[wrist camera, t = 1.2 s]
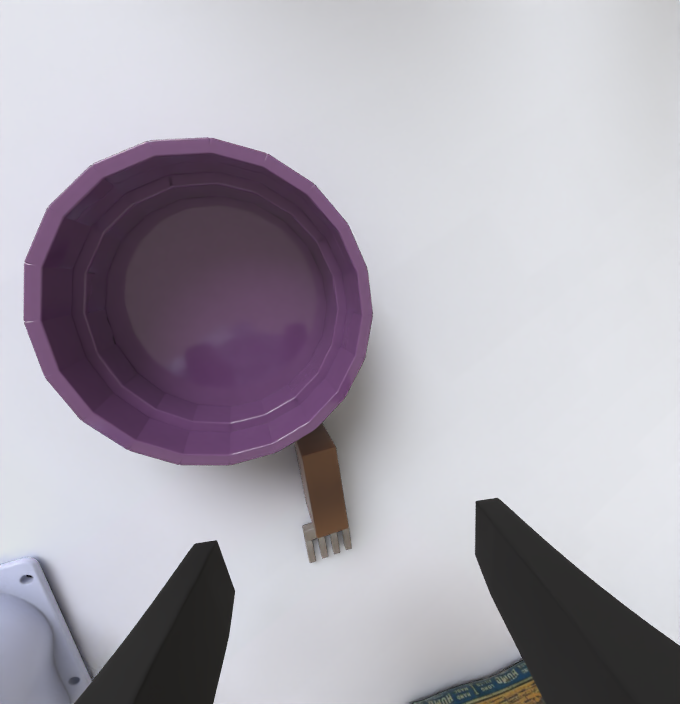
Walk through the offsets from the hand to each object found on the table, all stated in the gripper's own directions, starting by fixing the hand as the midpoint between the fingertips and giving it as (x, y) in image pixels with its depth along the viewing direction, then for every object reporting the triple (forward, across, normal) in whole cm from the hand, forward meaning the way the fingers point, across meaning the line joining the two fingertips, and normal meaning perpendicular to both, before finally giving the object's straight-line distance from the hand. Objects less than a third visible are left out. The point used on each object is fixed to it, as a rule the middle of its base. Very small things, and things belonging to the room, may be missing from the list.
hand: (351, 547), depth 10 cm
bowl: (+10, +5, -5) cm, 13 cm away
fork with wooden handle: (+10, +2, +7) cm, 12 cm away
